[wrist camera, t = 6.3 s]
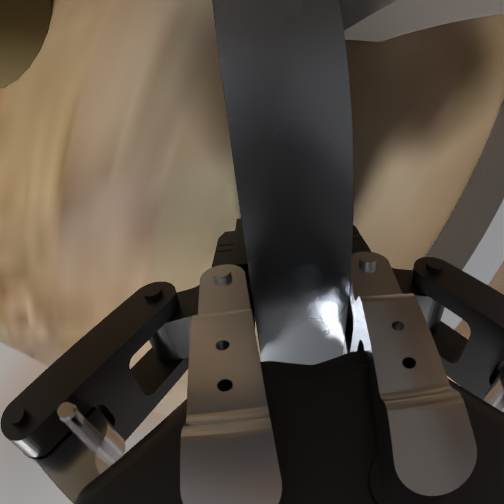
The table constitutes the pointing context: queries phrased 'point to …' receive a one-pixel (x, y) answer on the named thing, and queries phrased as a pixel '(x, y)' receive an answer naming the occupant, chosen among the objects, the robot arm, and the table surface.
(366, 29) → the low table
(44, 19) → the cork
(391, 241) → the table surface
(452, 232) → the plain stick
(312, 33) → the steel crook
